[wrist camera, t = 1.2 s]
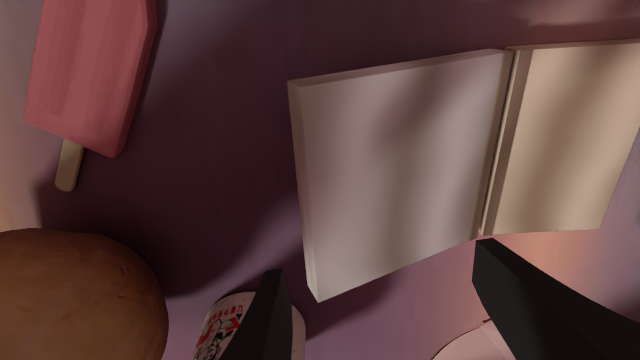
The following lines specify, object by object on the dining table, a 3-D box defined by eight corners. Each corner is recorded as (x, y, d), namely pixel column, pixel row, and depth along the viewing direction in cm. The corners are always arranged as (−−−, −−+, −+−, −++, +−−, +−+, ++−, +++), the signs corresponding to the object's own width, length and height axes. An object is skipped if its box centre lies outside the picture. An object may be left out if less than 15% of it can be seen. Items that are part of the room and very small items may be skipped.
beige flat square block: (489, 48, 19) (514, 51, 18) (460, 225, 25) (477, 237, 24) (286, 80, 15) (301, 87, 14) (307, 285, 21) (319, 304, 19)
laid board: (649, 37, 19) (675, 41, 18) (584, 216, 25) (600, 229, 24) (504, 46, 19) (519, 50, 18) (472, 222, 25) (481, 235, 24)
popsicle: (11, 178, 22) (48, -80, 16) (29, 167, 23) (70, -74, 17) (98, 211, 23) (165, -15, 17) (110, 199, 24) (176, -15, 18)
